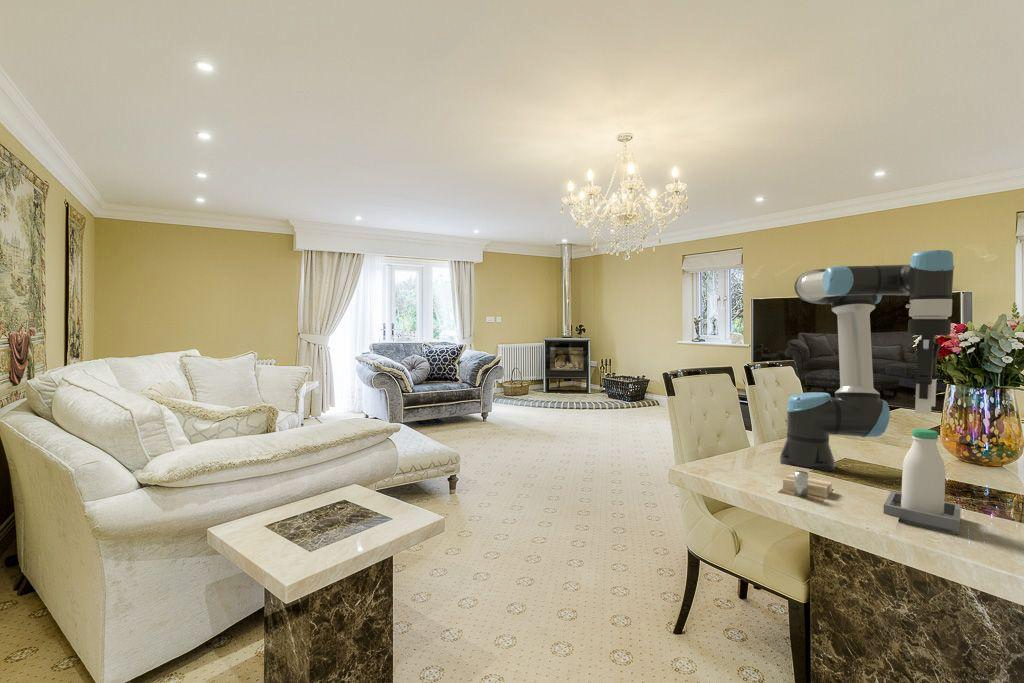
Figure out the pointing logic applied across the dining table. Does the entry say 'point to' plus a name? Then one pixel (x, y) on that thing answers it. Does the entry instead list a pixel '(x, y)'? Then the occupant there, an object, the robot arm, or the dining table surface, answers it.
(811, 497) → the board
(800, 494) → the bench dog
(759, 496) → the dining table surface
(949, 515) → the tray
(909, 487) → the milk bottle
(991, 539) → the dining table surface
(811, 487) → the light wooden block
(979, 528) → the dining table surface
